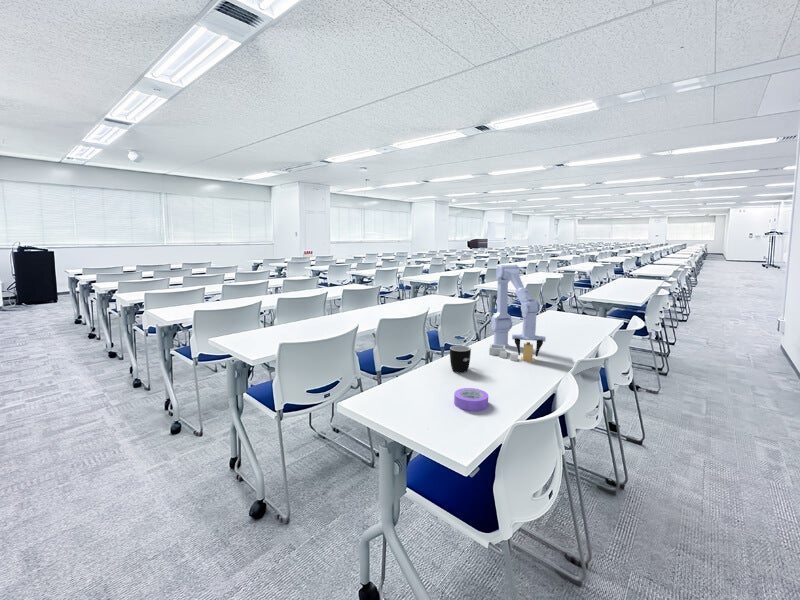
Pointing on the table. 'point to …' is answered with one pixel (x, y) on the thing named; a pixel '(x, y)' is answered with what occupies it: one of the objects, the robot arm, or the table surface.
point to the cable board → (504, 352)
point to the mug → (460, 358)
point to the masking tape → (471, 399)
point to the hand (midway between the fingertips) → (527, 355)
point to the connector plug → (527, 351)
